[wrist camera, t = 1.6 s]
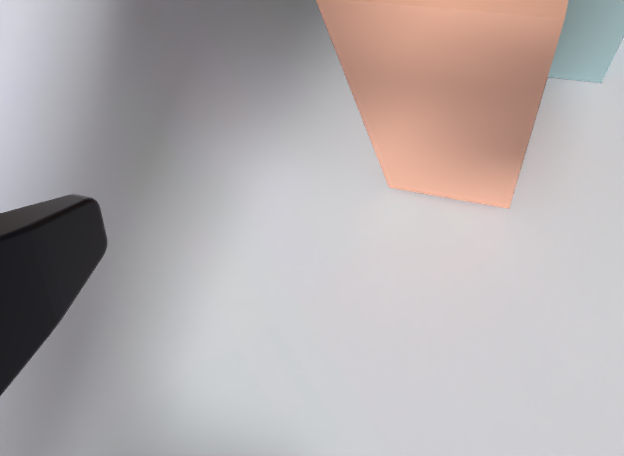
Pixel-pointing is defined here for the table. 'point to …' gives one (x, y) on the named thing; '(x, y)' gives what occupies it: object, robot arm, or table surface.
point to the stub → (447, 87)
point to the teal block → (588, 39)
